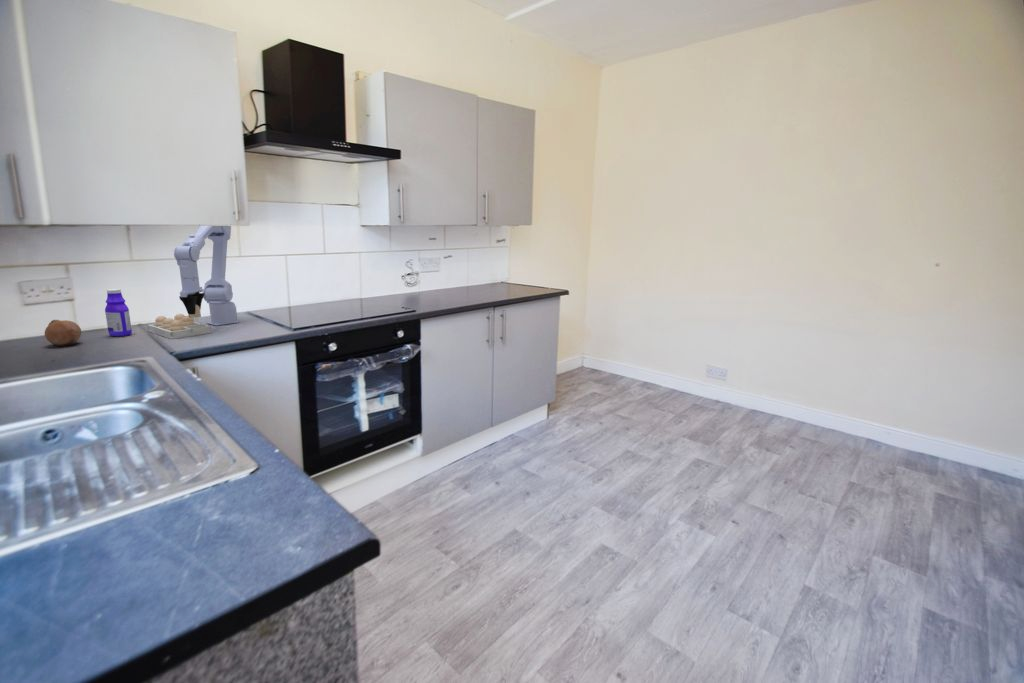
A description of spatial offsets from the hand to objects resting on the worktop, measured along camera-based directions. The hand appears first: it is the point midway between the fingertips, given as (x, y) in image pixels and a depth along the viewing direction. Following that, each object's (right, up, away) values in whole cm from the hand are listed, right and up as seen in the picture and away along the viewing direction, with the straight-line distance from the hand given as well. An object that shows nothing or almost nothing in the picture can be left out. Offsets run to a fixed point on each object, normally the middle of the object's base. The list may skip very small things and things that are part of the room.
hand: (194, 313), depth 194 cm
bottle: (-25, -9, -4) cm, 27 cm away
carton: (-7, -7, +3) cm, 11 cm away
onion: (-32, -12, -20) cm, 40 cm away
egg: (0, -1, 0) cm, 1 cm away
